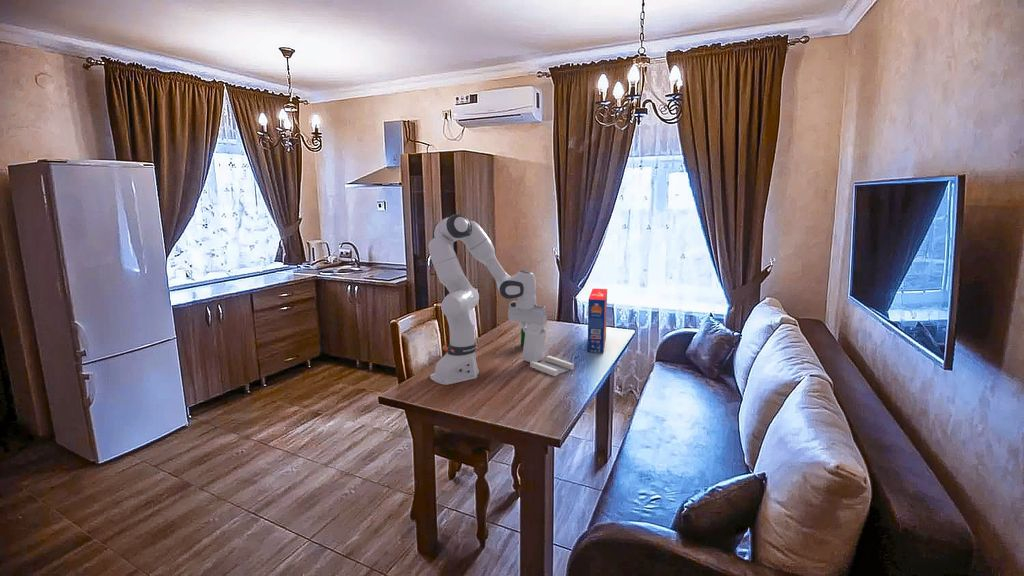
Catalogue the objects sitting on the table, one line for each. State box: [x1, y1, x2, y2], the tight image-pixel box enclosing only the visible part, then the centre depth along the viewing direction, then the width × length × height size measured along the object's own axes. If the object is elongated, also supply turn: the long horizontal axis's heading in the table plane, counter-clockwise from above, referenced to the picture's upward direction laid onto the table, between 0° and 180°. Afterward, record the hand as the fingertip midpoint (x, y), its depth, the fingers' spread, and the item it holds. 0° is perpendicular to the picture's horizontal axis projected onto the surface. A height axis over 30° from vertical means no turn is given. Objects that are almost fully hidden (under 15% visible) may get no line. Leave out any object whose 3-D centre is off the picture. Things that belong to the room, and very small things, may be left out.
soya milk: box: [520, 322, 529, 347], centre depth 257 cm, size 9×9×20 cm
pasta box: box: [587, 288, 608, 354], centre depth 256 cm, size 28×8×28 cm, turn 166°
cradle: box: [529, 355, 575, 377], centre depth 225 cm, size 13×16×2 cm
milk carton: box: [521, 323, 547, 363], centre depth 232 cm, size 7×7×19 cm
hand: (527, 331), depth 235 cm, fingers closed
